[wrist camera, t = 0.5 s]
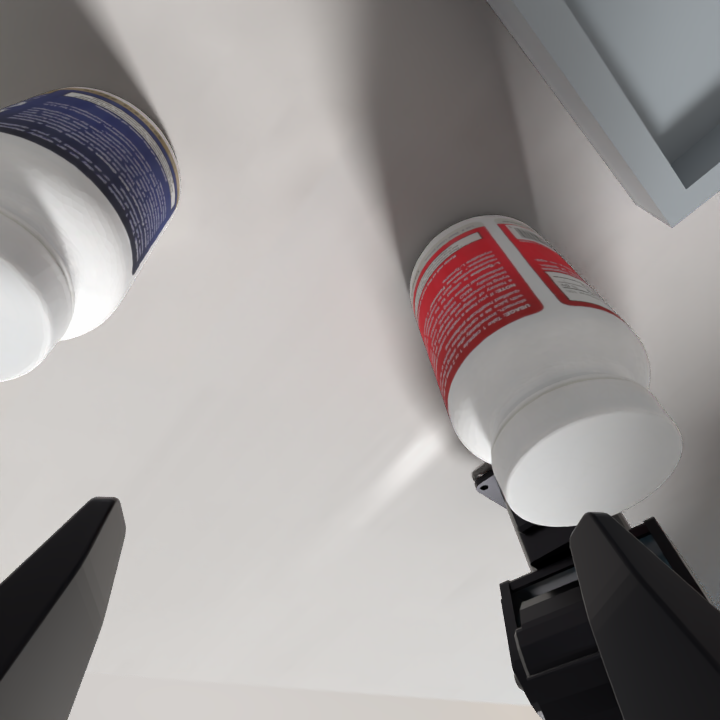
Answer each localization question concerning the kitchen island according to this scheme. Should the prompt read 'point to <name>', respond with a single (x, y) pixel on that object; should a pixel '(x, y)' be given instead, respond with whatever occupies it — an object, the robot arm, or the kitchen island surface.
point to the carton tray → (635, 88)
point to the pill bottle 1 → (75, 215)
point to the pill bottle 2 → (539, 374)
